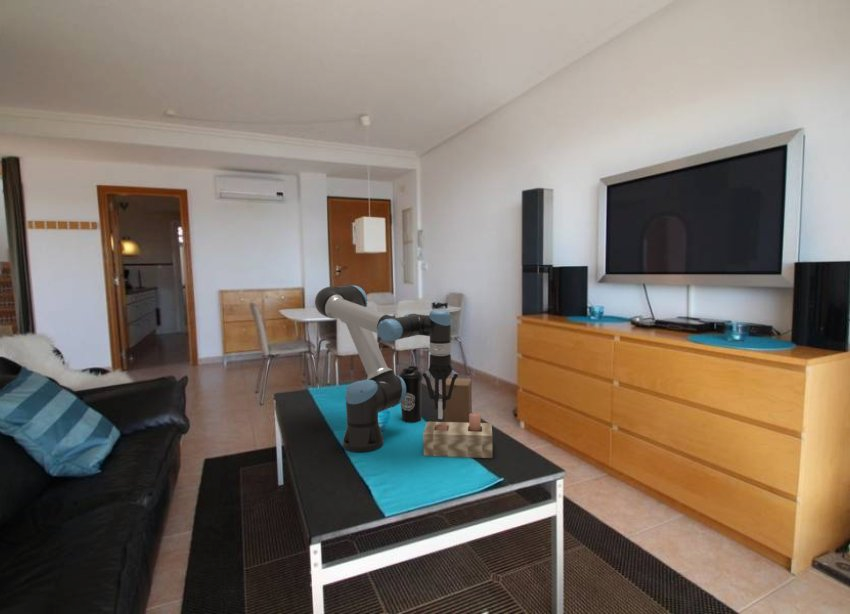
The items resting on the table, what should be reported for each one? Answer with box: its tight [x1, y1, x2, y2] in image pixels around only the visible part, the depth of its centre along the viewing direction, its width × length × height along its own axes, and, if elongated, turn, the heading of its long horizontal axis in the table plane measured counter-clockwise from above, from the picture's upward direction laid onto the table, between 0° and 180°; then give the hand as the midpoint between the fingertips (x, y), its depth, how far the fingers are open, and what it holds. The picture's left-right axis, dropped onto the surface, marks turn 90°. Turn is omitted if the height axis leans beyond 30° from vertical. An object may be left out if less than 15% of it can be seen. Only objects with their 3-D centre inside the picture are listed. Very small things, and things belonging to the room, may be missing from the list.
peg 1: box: [436, 424, 447, 431], centre depth 159 cm, size 4×4×8 cm
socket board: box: [422, 421, 493, 459], centre depth 158 cm, size 24×12×8 cm, turn 83°
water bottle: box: [398, 365, 423, 424], centre depth 190 cm, size 10×10×23 cm
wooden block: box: [443, 377, 473, 423], centre depth 178 cm, size 10×10×20 cm
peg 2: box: [469, 412, 482, 432], centre depth 157 cm, size 4×4×8 cm
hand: (440, 417), depth 159 cm, fingers closed
